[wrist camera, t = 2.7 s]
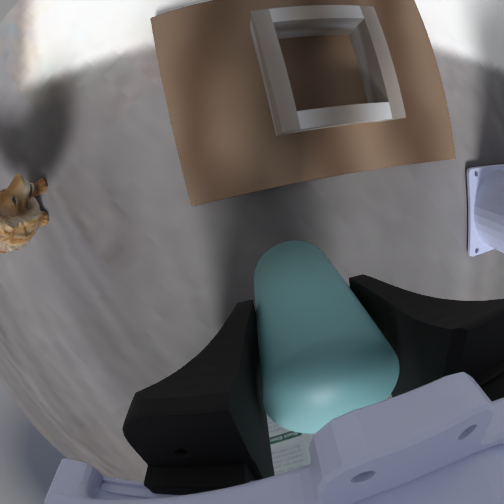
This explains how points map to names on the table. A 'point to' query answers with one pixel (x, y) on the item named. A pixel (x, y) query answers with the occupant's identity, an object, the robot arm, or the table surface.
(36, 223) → the lion figurine
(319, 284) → the peg
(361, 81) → the socket board
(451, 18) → the table surface
